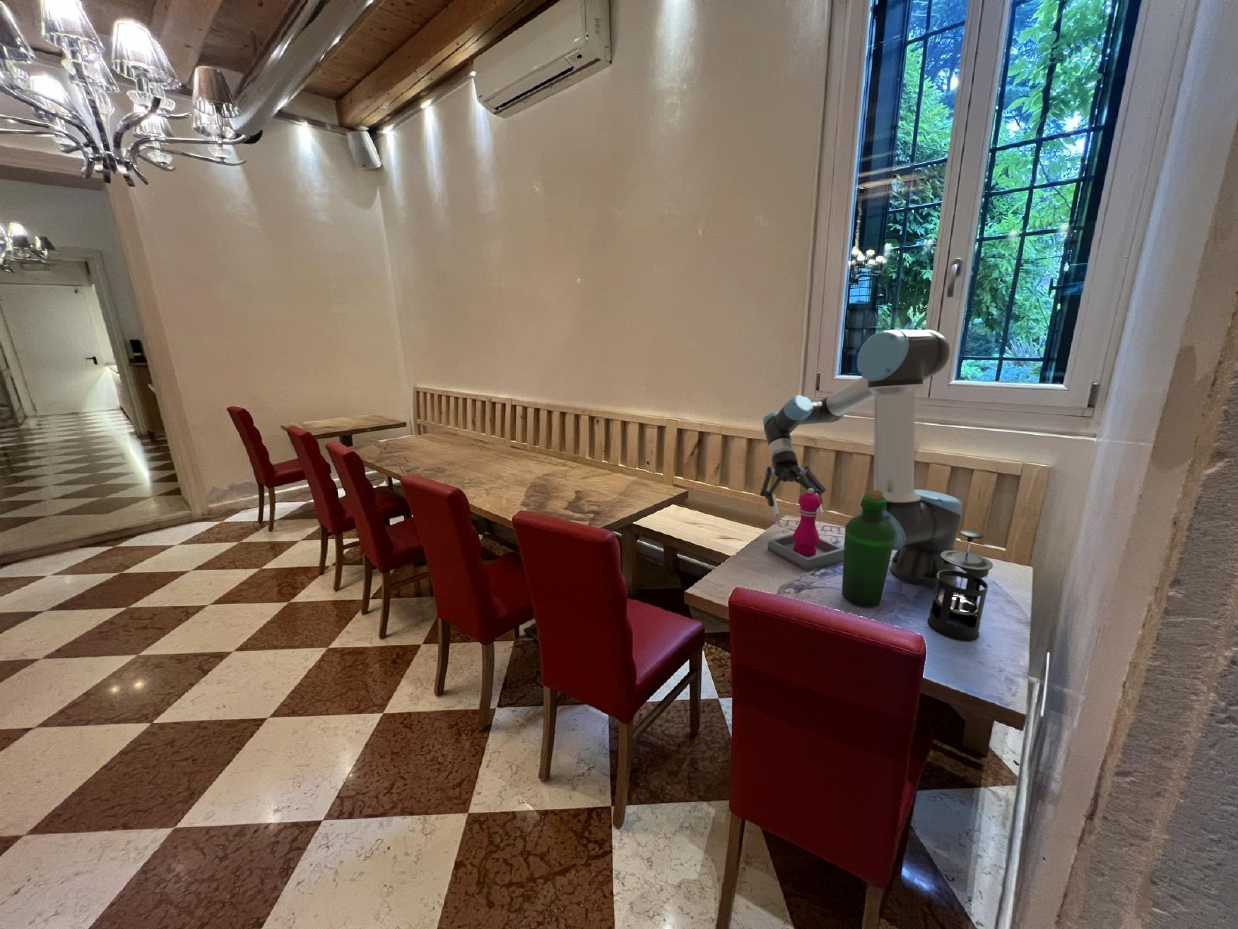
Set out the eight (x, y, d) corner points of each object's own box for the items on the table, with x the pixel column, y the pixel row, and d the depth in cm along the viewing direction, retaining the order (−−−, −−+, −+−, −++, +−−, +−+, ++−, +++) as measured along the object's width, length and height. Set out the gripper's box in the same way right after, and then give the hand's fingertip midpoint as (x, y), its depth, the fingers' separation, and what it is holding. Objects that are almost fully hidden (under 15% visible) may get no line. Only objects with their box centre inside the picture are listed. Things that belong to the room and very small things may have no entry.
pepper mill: (820, 558, 134) (827, 492, 128) (793, 556, 135) (799, 491, 130) (815, 547, 140) (821, 485, 135) (790, 545, 142) (795, 483, 137)
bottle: (882, 593, 117) (898, 487, 109) (888, 615, 107) (905, 502, 100) (836, 585, 121) (848, 483, 113) (837, 606, 111) (851, 496, 104)
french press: (961, 647, 96) (982, 546, 90) (916, 624, 104) (932, 529, 98) (992, 631, 101) (1014, 534, 95) (946, 610, 109) (963, 519, 103)
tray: (844, 560, 134) (845, 549, 133) (806, 571, 128) (807, 560, 127) (803, 541, 147) (804, 531, 146) (767, 550, 141) (768, 540, 140)
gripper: (815, 460, 155) (833, 518, 145) (742, 462, 154) (755, 521, 143) (824, 448, 149) (844, 508, 138) (748, 450, 147) (762, 511, 137)
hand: (798, 515), depth 141 cm, fingers open, 13 cm apart
